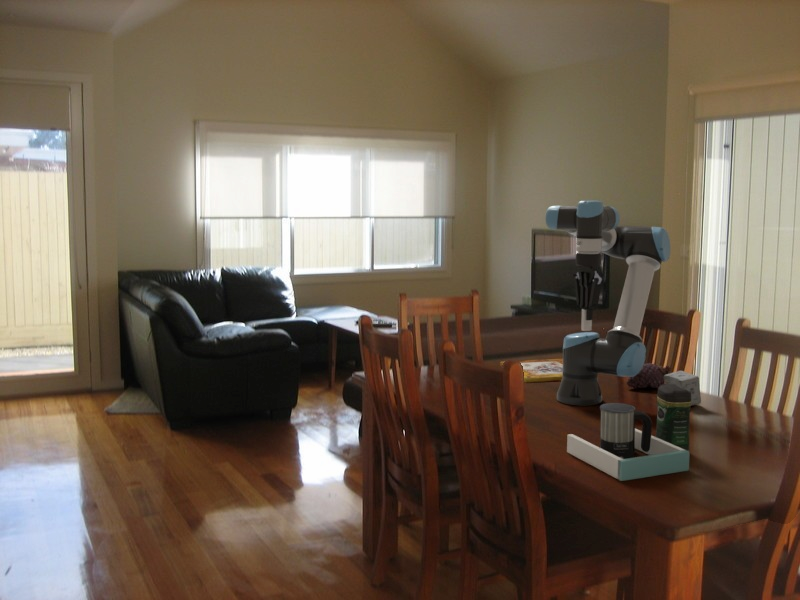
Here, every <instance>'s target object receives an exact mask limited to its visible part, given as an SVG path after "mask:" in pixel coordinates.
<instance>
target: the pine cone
mask: <svg viewBox="0 0 800 600" xmlns="http://www.w3.org/2000/svg"><path fill="white" fill-rule="evenodd" d="M671 369H672V366H669V365H665V367H663V365H662V364H661V365H657V364H654V363H651V362H646V363H645V362H644V364H643V367H642V369H641V370H640V372H639V373H638V374H637V375H636V376H634V377H628V379H627V381H626V385H627V386H628V388H633V389H635V390H638V389H641V390H642V389H646V388H648V387H649V388H652V389H654V388H655V389H657V390H658V388H659V387H660V386H661V385H662V384H665V381H664V375H667V374H670V373H671Z"/></svg>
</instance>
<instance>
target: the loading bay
mask: <svg viewBox="0 0 800 600" xmlns="http://www.w3.org/2000/svg"><path fill="white" fill-rule="evenodd" d="M641 438H642V430H640V429H637V428H636V427H635V450H637V451H640V452H642V453H644V454H647V455H642V456H637V457H636V456H635V457H633V458H628V459H622V458H620V457H618V456H616V455H614V454H612V453H610V452H608V451H606V450H603V449H601V448H600V447H599V446H597V445H595V444H594V443H591V442H589V441H587V440H585V439H583V438H582V437H579V436H578V435H575V434H572V433H570V434H567V437H566V439H567V440H566V442H567V443H566V453H568V454H570V455H571V456H574V457H575V458H577V459H579V460H581V461H583V462H584V463H586V464H588V465H591V466H592V467H594V468H596V469H598V470H599V471H601V472H604V473H605V474H607V475H609V476H611V477H612V478H615V479H617V480H618V481H620V482H622V481H623V482H624V481H631V480H636V479H643V478H648V477H649V478H650V477H656V476H661V475H668V474H674V473H680V472H688V471H689V469H690V450H689V451H687V450H685V449H682V448H680V447H678V446H675V445H673V444H671V443H668V442H666V441H664V440H661V439H659V438H657V437H656V436H654V435H652V434H651V442H650V450H649V451H648V452H645V451H643V450H642V448H641Z"/></svg>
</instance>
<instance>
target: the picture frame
mask: <svg viewBox="0 0 800 600" xmlns="http://www.w3.org/2000/svg"><path fill="white" fill-rule="evenodd" d="M518 361H519V362H520V363H521V365H522V366H523V372H524V381H523V382H524V383H539V382H540V383H541V382H542V383H543V382H559V381H560V382H561V380H562V377H563V358H552V359H550V358H549V359H528V360H527V359H526V360H518ZM504 362H505V360H504V361H499V366H500V367H502V365H503V363H504Z"/></svg>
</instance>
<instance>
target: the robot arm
mask: <svg viewBox="0 0 800 600" xmlns="http://www.w3.org/2000/svg"><path fill="white" fill-rule="evenodd" d="M544 217H545V219H544V220H545V224H546V227H547V229H550V230H556V231H559V230H561V231H565V232H566V233H568V234H570V235H572V236H575V237H576V242H575V245H576V246H575V251H576V252H577V253H576V254H575V265H576V266H578V268H577V272H576V273H573V274H572V278H573V281H574V288H575V299H576V300H575V301H576V305H577V306H579V308H580V311H581V312H580V315H581V316H580V317H581V318H580V319H581V323H580V325H581V326H580V328H581V329H580V330H581V331H583V332H575V333H569V334H567V335H566V336H565V337H564V338H563V346H562V359H563V377H562V380H561V381H560V383H559V386H558V390H557V392H556V400H557V402H560V403H562V404H565V405H571V406H582V407H585V406H594V405H595V406H596V405H599V404H601V403H602V402H603V393H602V391H601V390H602V389H601V386H600V383H599V381H598V374H602V375H609V376H617V377H620V378H622V377H623V378H624V377H625V378H627V377H628V378H630V377H634V376H636V375H637V374H638V373H639V372H640V370H641V369H642V367H643V364H644V363H645V361H646V353H647V348H646V345H645V344H644V343H643V338H642V337H641V335H640V333H641V329H642V323H643V320H644V318H645V317H644V315H645V312H646V309H647V304H648V300H649V297H650V295H649V294H650V291H651V287H652V282H653V279H654V276H655V272H657V271H658V270H660V268H661V267H662V263H665V262H668V261H669V260H670V256H671V239H670V235H669V233H668V231H667V229H666V228H665V227H662V226H653V225H652V226H636V225H635V226H632V225H631V226H630V225H620V224H619V223H620V222H621V220H620V219H621V216H620V213H619V211H618V210H617V208H616V207H613V206H611V205H610V206H609V205H604V204H603V202H602V201H601V200H580V201H578V203H577V205H560V204H559V205H551V206H549V207H548V208H547V209H546V212H545V216H544ZM601 253H602V254H605V255H608V256H610V257H613V258H616V259H618V260H619V259H620V260H625V262H626V264H627V265H628V268H627V273H626V277H625V281H624V285H623V288H622V292H621V297H620V300H619V303H618V308H617V312H616V314H615V315H616V316H615V320H614V324H613V326H612V327H613V328H612V329H610V330H608V331H607V332H606V337H605V338H601V337H600V334H599V333H598V332H594V331H592V330H593V329H592V325H593V311H594V309H597V308H598V307H599V303H600V302H599V300H600V295H601V291H602V285H603V282H604V280H605V278H604V277H602V276H600V274H599V267H601V265H602V254H601Z"/></svg>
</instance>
